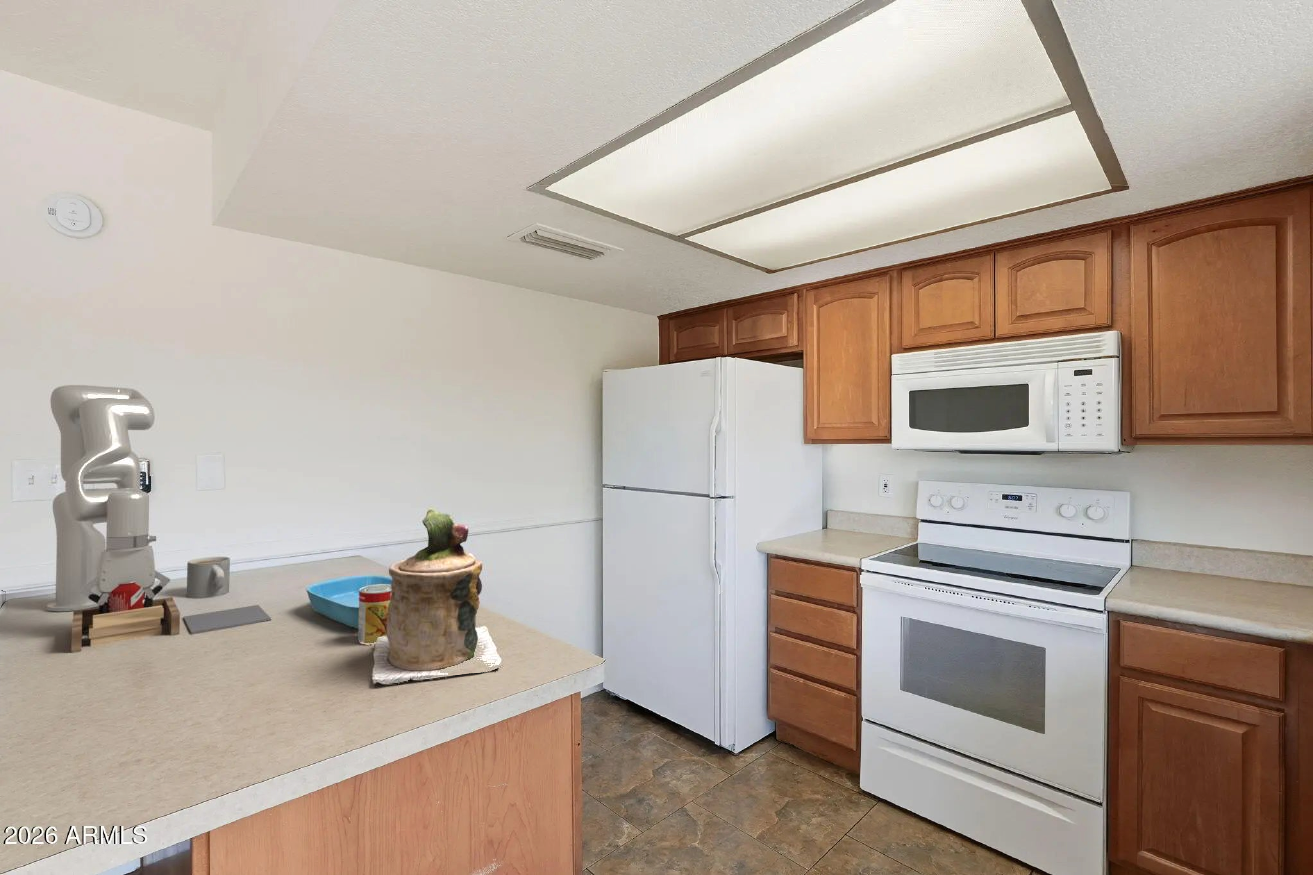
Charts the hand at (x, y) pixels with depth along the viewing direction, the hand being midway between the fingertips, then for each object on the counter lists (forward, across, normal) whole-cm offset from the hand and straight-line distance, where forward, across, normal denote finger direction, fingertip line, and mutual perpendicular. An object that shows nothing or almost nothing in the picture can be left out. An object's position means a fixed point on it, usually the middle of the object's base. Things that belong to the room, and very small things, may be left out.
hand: (126, 616), depth 139 cm
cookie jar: (+4, -47, +66) cm, 81 cm away
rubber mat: (+3, -19, +5) cm, 20 cm away
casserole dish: (+4, -47, +23) cm, 53 cm away
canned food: (+4, -42, +45) cm, 62 cm away
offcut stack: (+4, 0, +7) cm, 8 cm away
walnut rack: (+3, 0, +2) cm, 4 cm away
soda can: (+4, 0, 0) cm, 4 cm away
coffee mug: (+4, -19, -26) cm, 32 cm away
